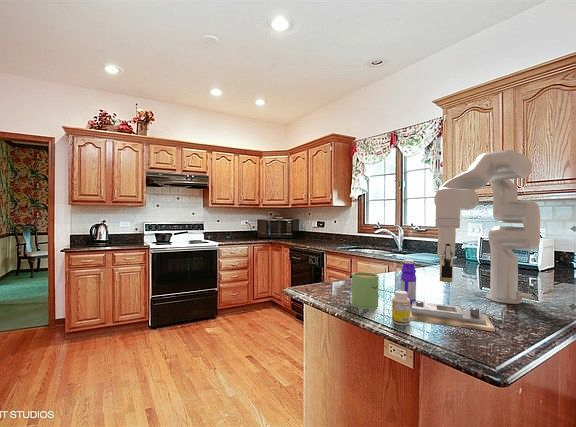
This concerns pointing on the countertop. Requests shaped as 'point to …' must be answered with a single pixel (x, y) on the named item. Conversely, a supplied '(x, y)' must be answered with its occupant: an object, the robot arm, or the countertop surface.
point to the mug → (365, 290)
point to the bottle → (409, 279)
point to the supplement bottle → (401, 308)
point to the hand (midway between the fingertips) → (446, 276)
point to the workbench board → (454, 322)
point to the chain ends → (447, 312)
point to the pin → (441, 272)
